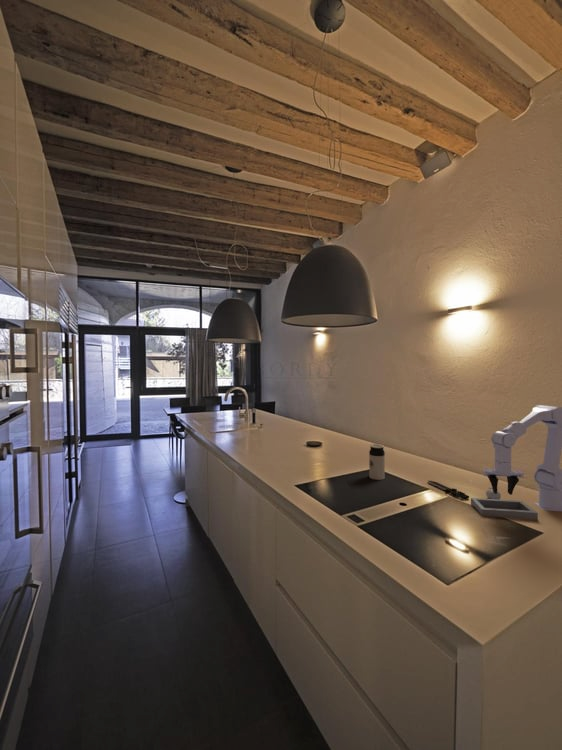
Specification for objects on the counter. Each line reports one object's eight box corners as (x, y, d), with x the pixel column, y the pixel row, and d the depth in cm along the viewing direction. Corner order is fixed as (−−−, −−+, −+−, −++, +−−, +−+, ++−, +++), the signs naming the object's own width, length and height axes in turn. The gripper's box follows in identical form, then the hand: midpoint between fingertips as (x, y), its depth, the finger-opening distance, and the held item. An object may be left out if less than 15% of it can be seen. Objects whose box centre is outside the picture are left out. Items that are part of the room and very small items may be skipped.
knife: (425, 481, 176) (425, 479, 176) (436, 481, 177) (436, 479, 177) (458, 499, 151) (458, 496, 151) (471, 499, 152) (471, 496, 152)
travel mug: (381, 475, 187) (381, 443, 186) (386, 480, 179) (386, 447, 178) (367, 476, 186) (367, 444, 186) (372, 481, 178) (372, 447, 178)
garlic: (483, 498, 154) (483, 487, 154) (488, 496, 157) (489, 485, 157) (497, 503, 149) (497, 491, 149) (503, 500, 152) (503, 488, 152)
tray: (521, 507, 144) (521, 500, 143) (537, 520, 132) (537, 512, 132) (470, 504, 147) (470, 497, 147) (481, 516, 135) (482, 509, 135)
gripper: (517, 458, 142) (517, 490, 142) (479, 457, 144) (479, 488, 145) (526, 463, 135) (525, 497, 135) (486, 462, 137) (486, 495, 138)
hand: (502, 493), depth 139 cm, fingers open, 5 cm apart
